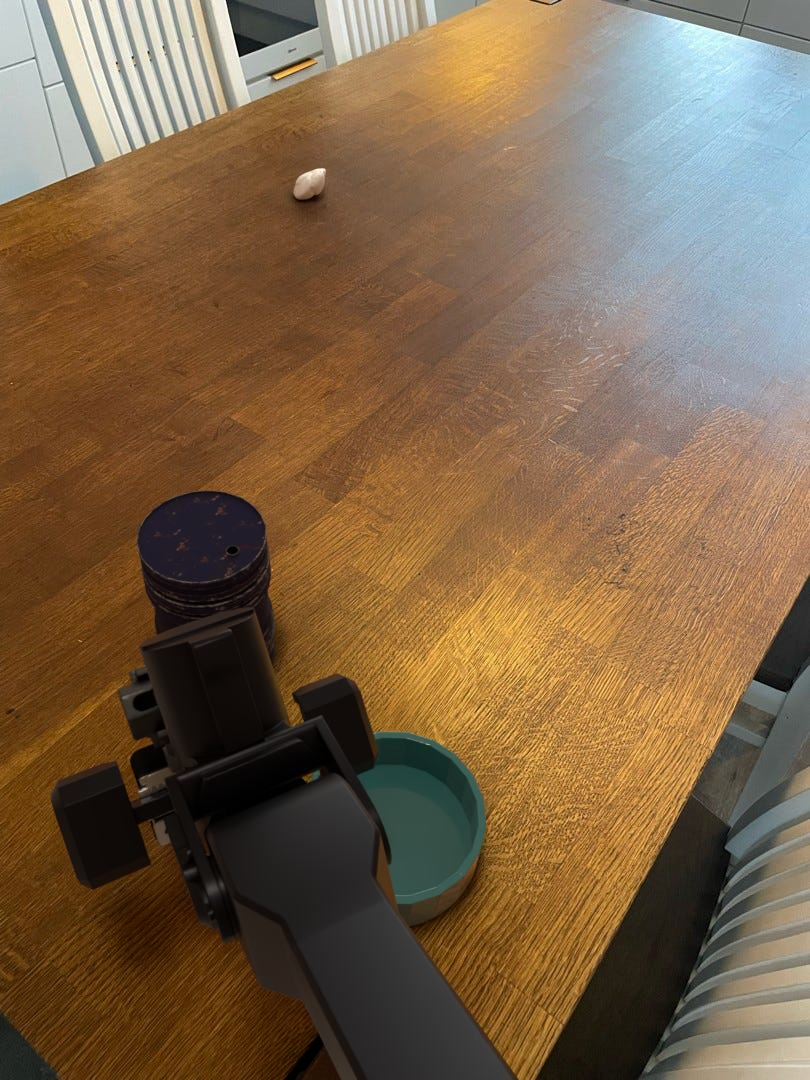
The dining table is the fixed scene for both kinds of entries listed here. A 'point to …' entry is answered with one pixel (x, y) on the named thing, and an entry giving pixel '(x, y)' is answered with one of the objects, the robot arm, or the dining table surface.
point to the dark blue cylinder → (206, 560)
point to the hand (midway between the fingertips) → (202, 747)
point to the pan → (425, 821)
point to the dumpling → (310, 184)
